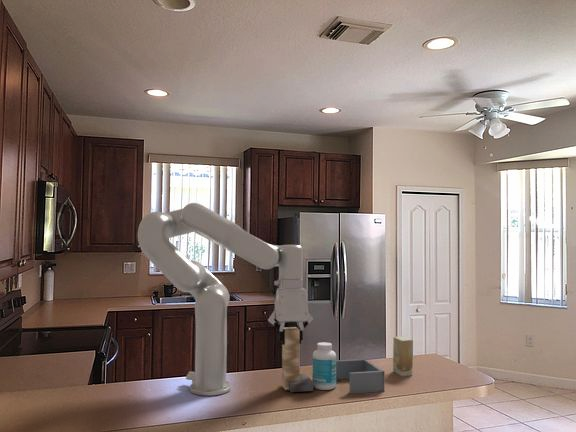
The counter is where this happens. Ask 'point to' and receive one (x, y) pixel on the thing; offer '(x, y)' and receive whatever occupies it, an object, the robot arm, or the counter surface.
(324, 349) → the pill bottle
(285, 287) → the robot arm
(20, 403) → the counter surface
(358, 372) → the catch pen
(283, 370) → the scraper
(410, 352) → the skincare box
